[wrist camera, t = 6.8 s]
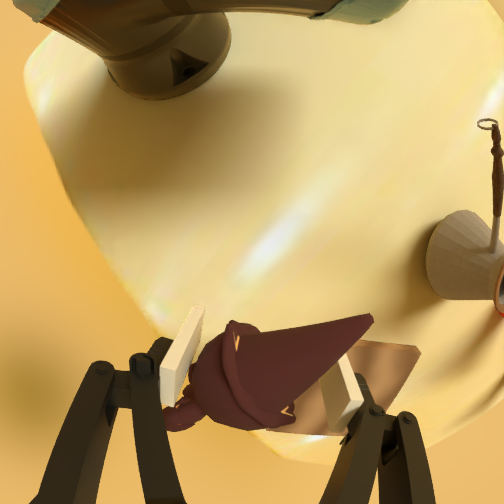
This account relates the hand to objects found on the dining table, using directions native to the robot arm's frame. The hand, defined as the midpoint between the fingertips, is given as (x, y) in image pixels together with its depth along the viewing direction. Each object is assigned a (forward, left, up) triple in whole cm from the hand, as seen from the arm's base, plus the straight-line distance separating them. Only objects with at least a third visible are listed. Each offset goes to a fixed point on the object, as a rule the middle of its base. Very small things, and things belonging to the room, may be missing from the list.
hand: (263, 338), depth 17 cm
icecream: (0, -1, -1) cm, 1 cm away
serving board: (+15, -15, -14) cm, 25 cm away
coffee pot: (+20, +12, -14) cm, 27 cm away
